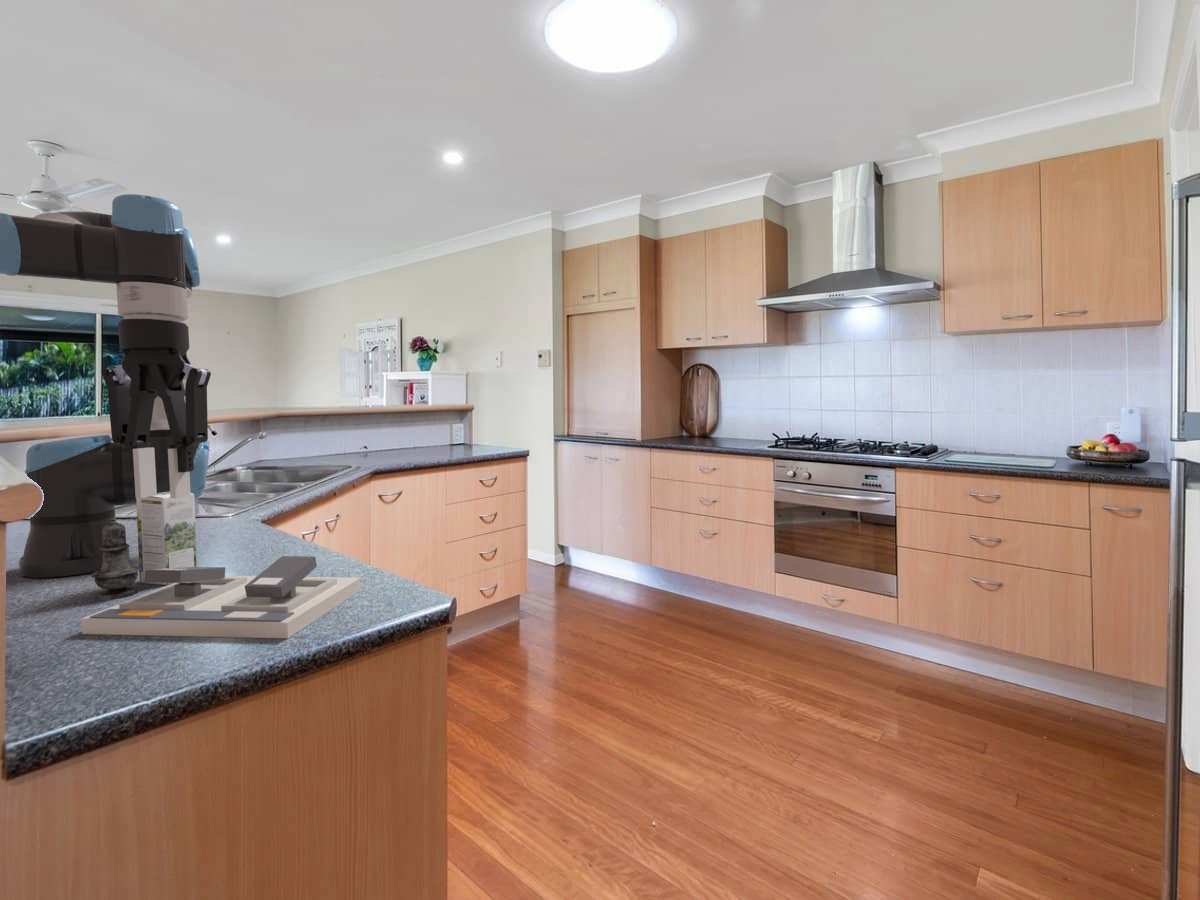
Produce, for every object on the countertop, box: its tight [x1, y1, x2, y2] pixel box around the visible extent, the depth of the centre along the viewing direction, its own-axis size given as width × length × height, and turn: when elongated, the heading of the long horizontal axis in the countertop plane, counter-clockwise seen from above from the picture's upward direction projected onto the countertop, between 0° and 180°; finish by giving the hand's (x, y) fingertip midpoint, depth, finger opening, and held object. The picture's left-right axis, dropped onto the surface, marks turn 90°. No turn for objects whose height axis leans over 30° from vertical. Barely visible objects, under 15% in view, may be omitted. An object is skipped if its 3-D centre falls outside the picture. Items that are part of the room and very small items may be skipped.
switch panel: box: [81, 575, 362, 639], centre depth 87 cm, size 20×27×4 cm
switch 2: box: [245, 555, 317, 598], centre depth 86 cm, size 9×5×2 cm, turn 176°
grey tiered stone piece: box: [91, 517, 140, 601], centre depth 94 cm, size 6×6×12 cm
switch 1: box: [144, 566, 226, 583], centre depth 87 cm, size 9×5×2 cm, turn 176°
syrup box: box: [135, 492, 198, 586], centre depth 102 cm, size 6×6×14 cm
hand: (163, 496), depth 83 cm, fingers open, 4 cm apart
